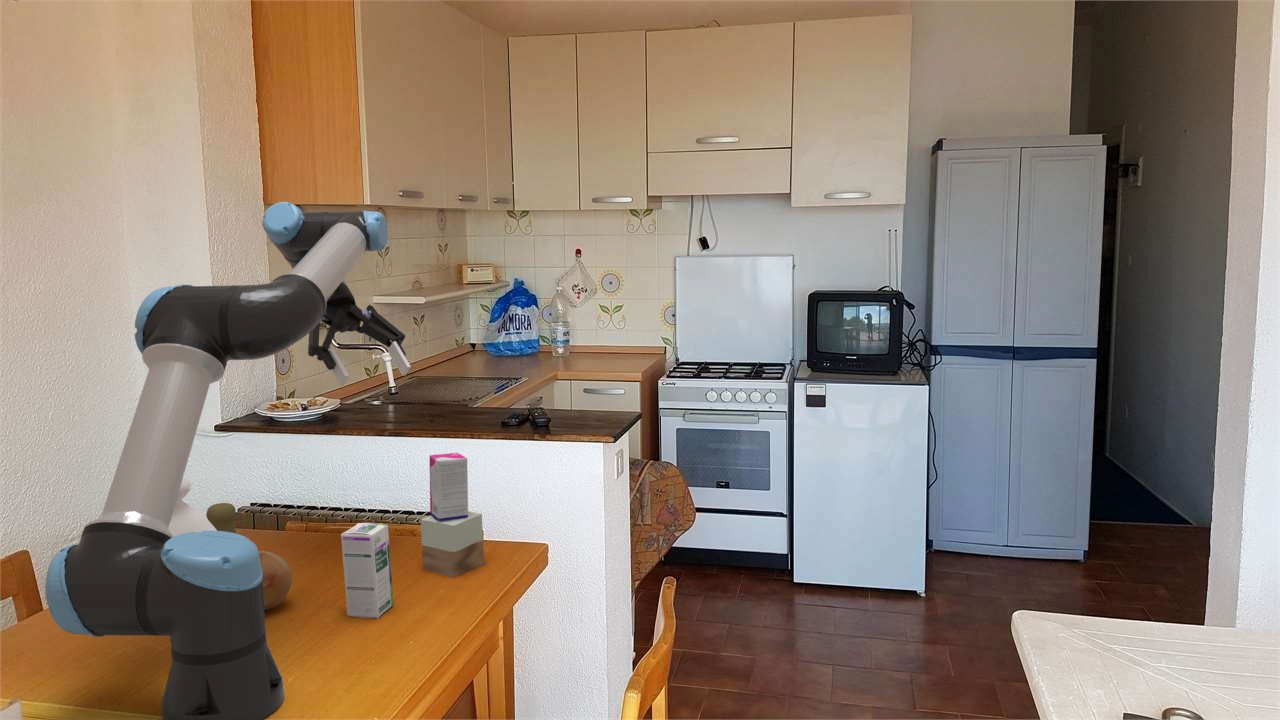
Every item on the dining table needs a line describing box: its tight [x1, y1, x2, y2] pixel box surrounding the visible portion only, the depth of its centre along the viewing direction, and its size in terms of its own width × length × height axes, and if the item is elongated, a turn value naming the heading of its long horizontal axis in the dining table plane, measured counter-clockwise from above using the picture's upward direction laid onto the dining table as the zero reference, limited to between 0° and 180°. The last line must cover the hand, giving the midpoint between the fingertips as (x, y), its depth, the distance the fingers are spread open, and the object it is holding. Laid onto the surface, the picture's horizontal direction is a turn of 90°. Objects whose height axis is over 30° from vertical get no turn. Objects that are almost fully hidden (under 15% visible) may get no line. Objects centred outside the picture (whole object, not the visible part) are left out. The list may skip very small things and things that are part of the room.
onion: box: [258, 550, 293, 611], centre depth 162 cm, size 10×10×10 cm
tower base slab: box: [421, 539, 485, 578], centre depth 181 cm, size 8×8×5 cm
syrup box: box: [340, 522, 394, 619], centre depth 160 cm, size 6×6×14 cm
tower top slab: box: [420, 510, 484, 552], centre depth 181 cm, size 8×8×5 cm
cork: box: [205, 502, 237, 534], centre depth 187 cm, size 6×6×11 cm
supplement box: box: [429, 452, 469, 522], centre depth 180 cm, size 6×6×12 cm
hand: (376, 375), depth 182 cm, fingers open, 13 cm apart
